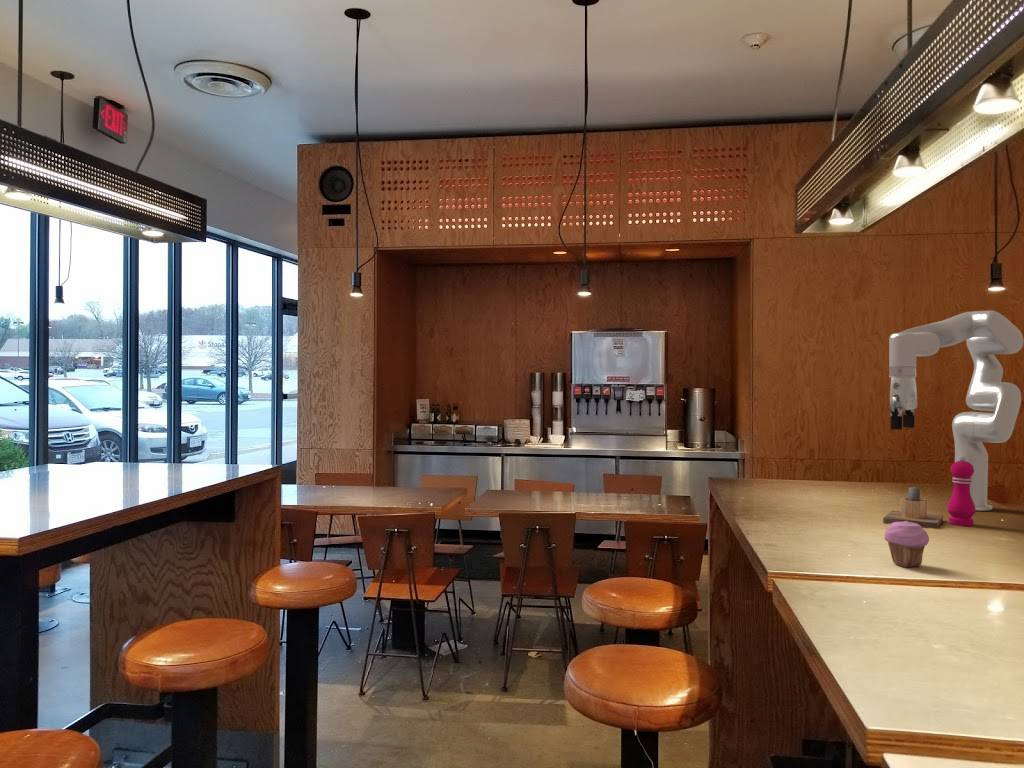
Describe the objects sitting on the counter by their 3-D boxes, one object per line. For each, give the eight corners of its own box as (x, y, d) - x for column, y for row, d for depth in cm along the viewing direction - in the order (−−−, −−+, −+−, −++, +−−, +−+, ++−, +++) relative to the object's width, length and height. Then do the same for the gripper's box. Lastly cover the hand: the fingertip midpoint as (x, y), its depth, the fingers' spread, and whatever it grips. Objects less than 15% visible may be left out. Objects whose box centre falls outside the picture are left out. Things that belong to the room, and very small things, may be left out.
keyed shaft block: (891, 515, 250) (892, 483, 250) (942, 520, 243) (943, 487, 243) (883, 522, 237) (883, 488, 237) (937, 528, 229) (938, 493, 229)
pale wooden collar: (898, 516, 239) (898, 499, 239) (902, 513, 245) (902, 497, 245) (924, 519, 235) (924, 502, 235) (927, 516, 241) (927, 499, 241)
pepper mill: (980, 526, 233) (982, 457, 233) (954, 526, 233) (956, 456, 233) (966, 522, 240) (968, 454, 240) (942, 521, 240) (943, 454, 240)
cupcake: (903, 570, 177) (904, 525, 177) (875, 561, 186) (876, 518, 186) (936, 568, 180) (937, 523, 180) (907, 560, 188) (908, 517, 188)
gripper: (904, 373, 242) (904, 430, 242) (925, 372, 254) (925, 427, 254) (878, 373, 247) (878, 429, 248) (900, 372, 259) (900, 426, 260)
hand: (902, 428), depth 251 cm, fingers open, 9 cm apart
